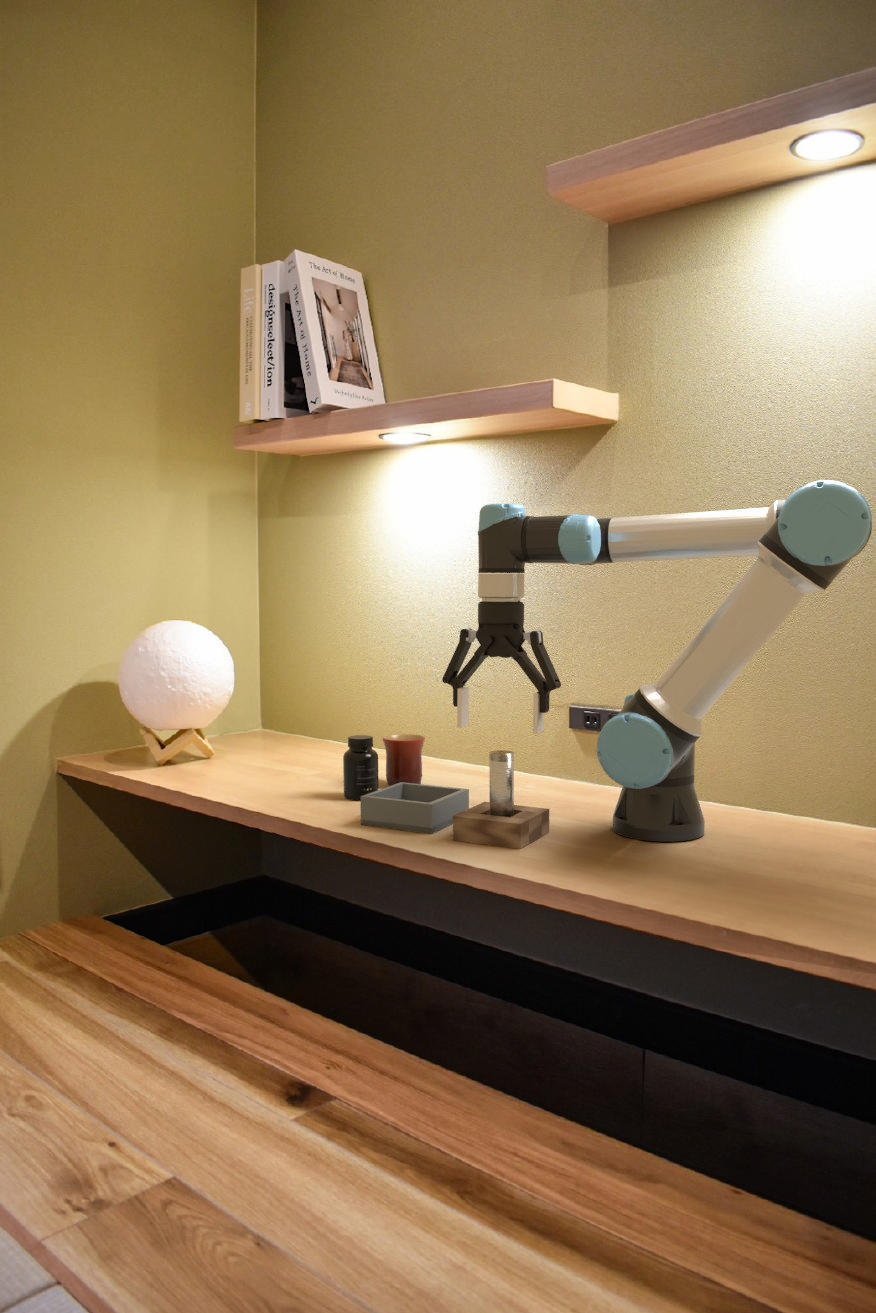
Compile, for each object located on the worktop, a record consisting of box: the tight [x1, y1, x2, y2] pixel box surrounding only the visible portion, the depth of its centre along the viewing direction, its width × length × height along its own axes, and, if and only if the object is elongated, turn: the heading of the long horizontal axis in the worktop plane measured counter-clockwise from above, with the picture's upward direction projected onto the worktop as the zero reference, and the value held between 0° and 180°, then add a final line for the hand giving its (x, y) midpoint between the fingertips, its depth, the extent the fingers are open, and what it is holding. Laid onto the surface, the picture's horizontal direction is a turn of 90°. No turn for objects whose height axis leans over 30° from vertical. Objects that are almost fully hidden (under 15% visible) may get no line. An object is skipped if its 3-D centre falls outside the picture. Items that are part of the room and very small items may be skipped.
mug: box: [381, 733, 426, 787], centre depth 210 cm, size 12×9×10 cm
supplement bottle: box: [342, 734, 379, 802], centre depth 198 cm, size 7×7×12 cm
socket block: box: [452, 801, 550, 850], centre depth 168 cm, size 12×12×4 cm
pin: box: [488, 749, 515, 817], centre depth 167 cm, size 4×4×14 cm
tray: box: [360, 782, 470, 835], centre depth 179 cm, size 14×14×5 cm
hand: (500, 729), depth 167 cm, fingers open, 13 cm apart
